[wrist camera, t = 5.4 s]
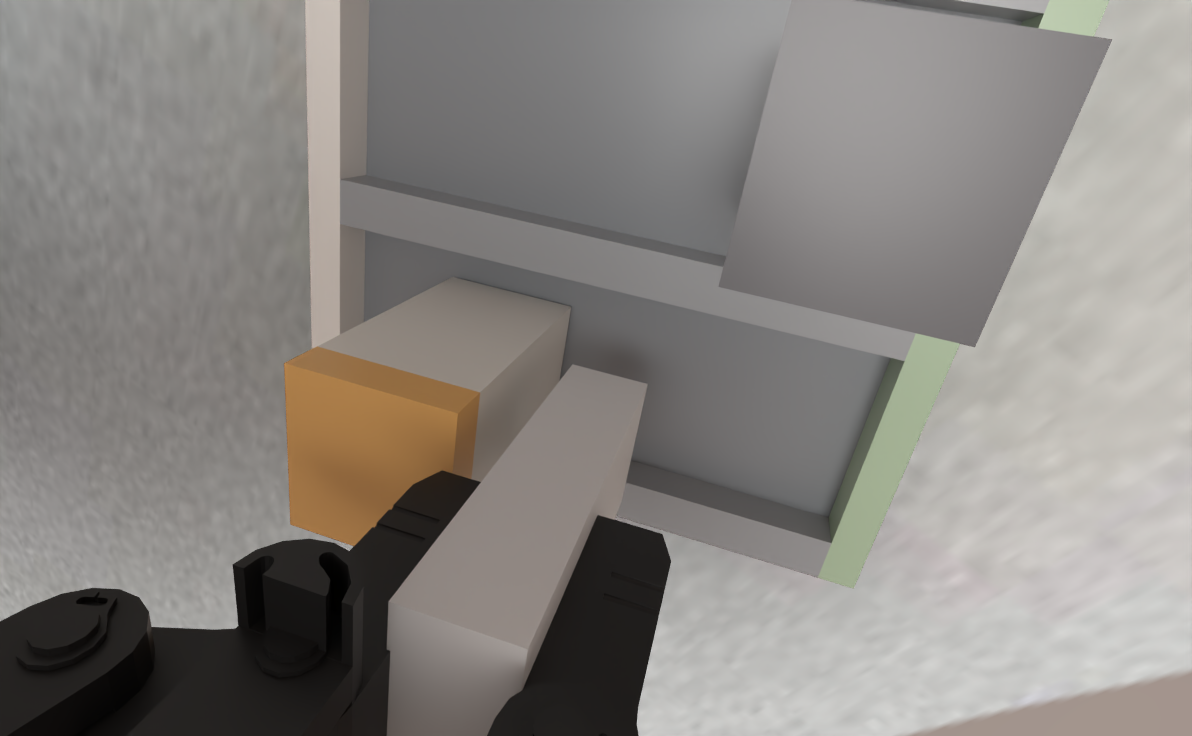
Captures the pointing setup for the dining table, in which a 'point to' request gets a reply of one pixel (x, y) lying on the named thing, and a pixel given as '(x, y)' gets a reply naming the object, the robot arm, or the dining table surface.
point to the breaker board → (622, 239)
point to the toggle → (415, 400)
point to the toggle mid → (903, 162)
